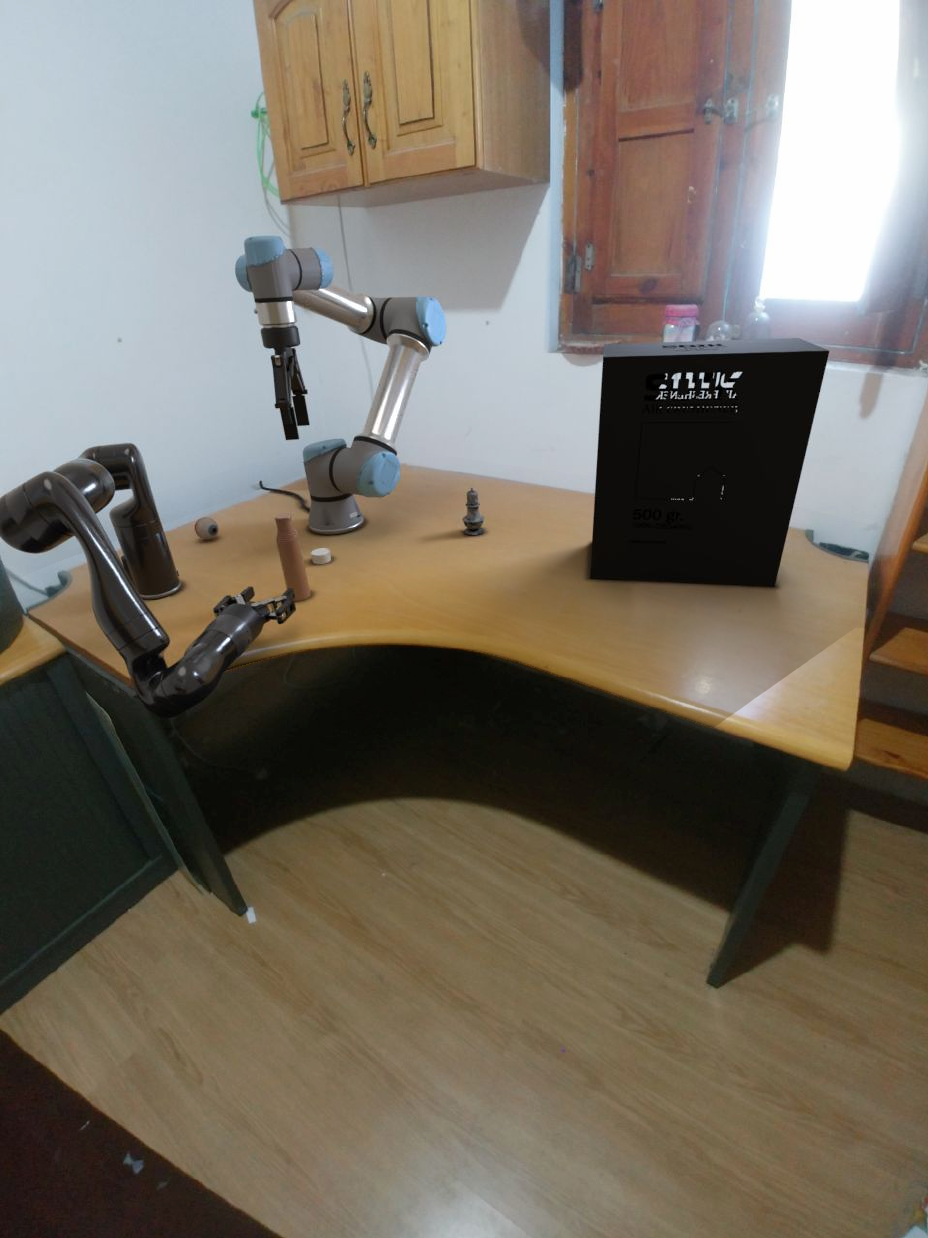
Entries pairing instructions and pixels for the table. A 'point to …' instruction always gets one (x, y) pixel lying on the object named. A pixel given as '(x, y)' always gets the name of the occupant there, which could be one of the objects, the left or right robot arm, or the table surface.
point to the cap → (321, 556)
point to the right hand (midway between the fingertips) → (298, 432)
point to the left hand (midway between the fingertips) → (271, 591)
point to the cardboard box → (701, 458)
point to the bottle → (291, 557)
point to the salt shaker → (473, 515)
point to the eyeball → (206, 528)
